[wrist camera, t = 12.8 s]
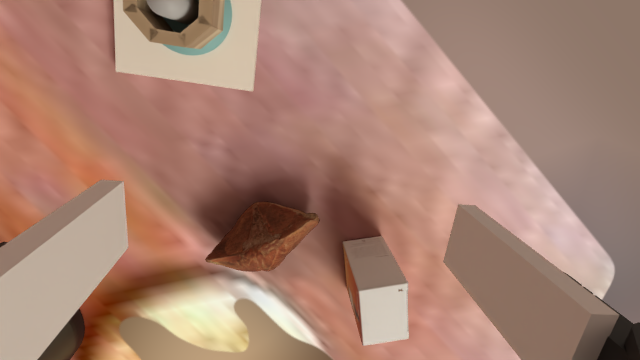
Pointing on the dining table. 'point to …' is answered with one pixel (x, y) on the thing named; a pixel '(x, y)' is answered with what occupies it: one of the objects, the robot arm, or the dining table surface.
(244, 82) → the post stand
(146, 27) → the maple ring
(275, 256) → the fossil
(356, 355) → the dining table surface
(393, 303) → the small box
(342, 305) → the dining table surface
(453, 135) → the dining table surface
